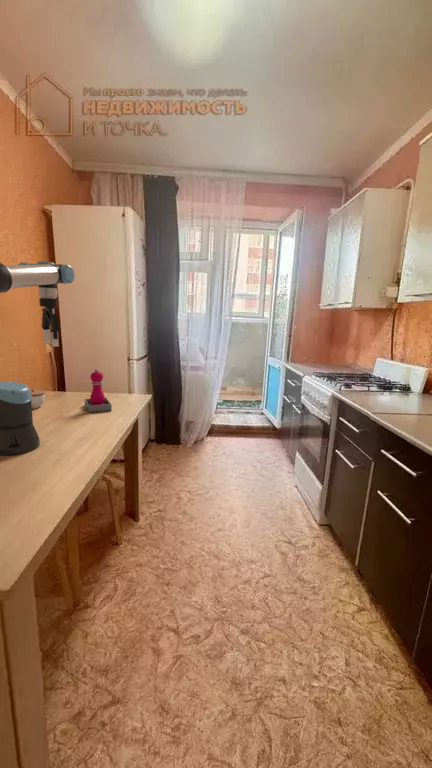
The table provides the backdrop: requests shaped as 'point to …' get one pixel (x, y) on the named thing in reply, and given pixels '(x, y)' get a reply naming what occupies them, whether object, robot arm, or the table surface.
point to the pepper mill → (97, 389)
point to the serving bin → (97, 406)
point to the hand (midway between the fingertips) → (51, 344)
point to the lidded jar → (37, 398)
